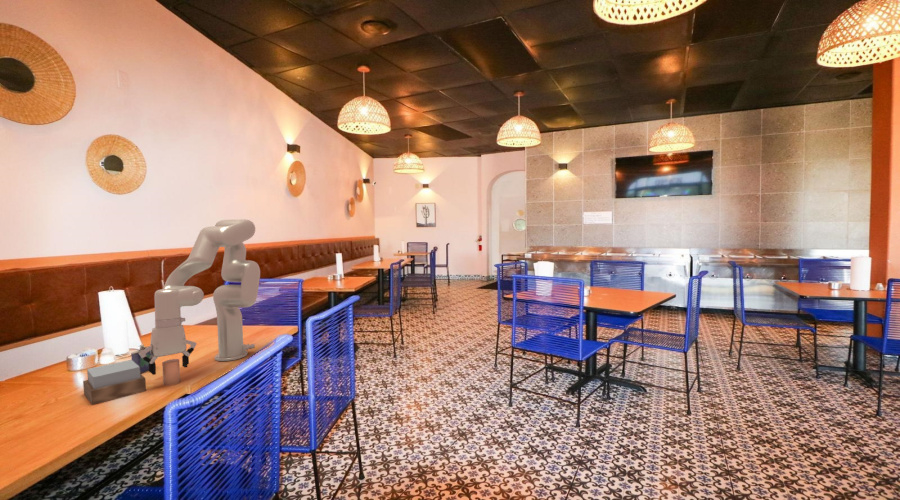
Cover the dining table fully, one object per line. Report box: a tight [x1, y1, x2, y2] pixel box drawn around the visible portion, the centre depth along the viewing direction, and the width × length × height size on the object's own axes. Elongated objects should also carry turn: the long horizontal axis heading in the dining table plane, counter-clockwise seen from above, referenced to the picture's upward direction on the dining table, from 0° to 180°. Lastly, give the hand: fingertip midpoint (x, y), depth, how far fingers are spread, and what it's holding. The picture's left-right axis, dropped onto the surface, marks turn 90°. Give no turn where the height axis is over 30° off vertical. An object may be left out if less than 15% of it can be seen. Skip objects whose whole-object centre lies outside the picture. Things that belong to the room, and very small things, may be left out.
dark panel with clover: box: [130, 344, 156, 375], centre depth 155 cm, size 9×3×11 cm, turn 172°
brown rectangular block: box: [161, 358, 181, 387], centre depth 143 cm, size 5×5×8 cm
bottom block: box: [82, 374, 147, 406], centre depth 135 cm, size 14×14×5 cm
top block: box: [86, 359, 140, 389], centre depth 135 cm, size 12×12×4 cm
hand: (169, 370), depth 142 cm, fingers open, 9 cm apart
